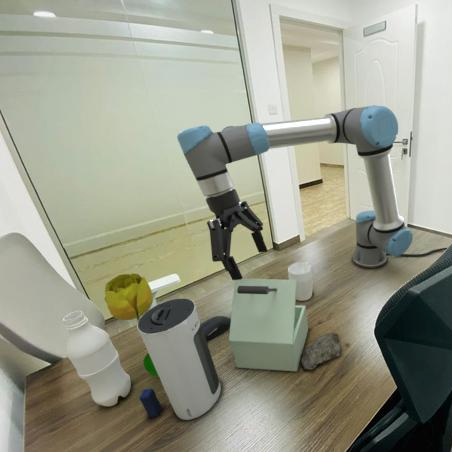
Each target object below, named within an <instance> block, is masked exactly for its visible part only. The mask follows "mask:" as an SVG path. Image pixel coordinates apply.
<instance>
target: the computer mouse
mask: <svg viewBox="0 0 452 452" xmlns="http://www.w3.org/2000/svg"><path fill="white" fill-rule="evenodd" d="M201 325H202V328H203V332H204V335H205V338H206V341H207V342H208V340H210V339H212V338H213V337H216V336H218V335H220V334H222V333H224V332H226V331H227V330H229V329H230V325H231V317H228V316H224V315H216V316H215V315H214V316H213V317H210V318H208V319H207V320H205V321H203V322H201Z"/></svg>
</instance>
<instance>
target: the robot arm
mask: <svg viewBox="0 0 452 452" xmlns="http://www.w3.org/2000/svg"><path fill="white" fill-rule="evenodd" d="M395 114H396V113H394V112H393V110H391V109H390V108H388V107H387V106H384V105H375V104H374V105H368V106H362V107H353V108H349V109H344V110H342V111H338V112H333V113H326V114H324V116H323V117H314V118H306V119H294V120H283V121H275V122H265V123H264V122H263V123H261V122H252V123H247V124H243V125H227V126H225V127H224V128H223V129H221V131H217V132H216V131H214V132H213V130H212V129H211V127H210V126H209V125H206V124H205V125H200V126H194V127H190V128H186V129H184V130H180V131H179V132H178V133H177V136H176V137H177V141H178V144H179V146H180V148H181V151H182V153H183V155H184V158H185V160H186V162H187V164H188V166H189V168H190V170H191V172H192V174H193V176H194V178H195V180H196V183H197V185H198V186H199V189H200V191H201V193H202V195H203V197H206V198H205V203H206V204H207V207H208V209H209V211H210V212H211V213H213V214H214V216H215V218H214V219H211V220H207V221H206V225H207V228H208V230H209V238H210V249H211V260H212V262H214V263H216V262H221V263H222V265H223V267H224V270H225V271H226V272H228V274H229V276H230V278H231V280H232V281H235V280H241V279H244V278H243V275H242V273H241V271H240V268H239V267H238V265H237V264H238V263H237V262H236V260H235V258H234V256H233V255H231V245H232V234H233V232H234V229H235V228H237V226H238V225H241V226H243V227H245V228H246V229H248V230H250V231H251V233H250V235H251V237H252V239H253V242H254V244H255V247H256V249H257V252H258V253H267V252H268V248H267V245H266V242H265V241H264V236H263V234H262V232H261V231H263V230H264V227H263V226H264V222H263V221H262V220H261V219H260V218H259V217H258V215H257V214H256V213H255V212H254V211H253V210H252V209H251V208H250V205H249V204H248V202H247V201H246V200H244V201H241V199H240V196H239V194H238V192H237V189H235V188H234V187H235V183H234V182H233V180H232V177H231V175H230V171H228V168H227V164H232V163H235V162H238V161H241V160H244V159H245V160H246V159H248V158H252V157H255V156H258V157H259V155H261V154H264V153H267V152H268V151H269V150H273V149H281V148H287V147H294V146H295V147H296V146H303V145H308V144H316V143H323V142H326V143H328V144H330V145H331V144H346V145H347V144H348V145H354V146H355V148H356V153H357V156H358V157H359V158H361V159H363V162H364V168H365V172H366V178H367V182H368V187H369V192H370V198H371V202H372V207H373V210H364V211H361V212H359V213H357V215H356V217H355V236H356V245H355V248H354V251H353V254H352V262H353V263H354V264H355V266H357V267H360V268H363V269H377V268H381V267H383V266H384V265H386V263H387V260H388V259H387V257H424V256H428V255H431V254H432V253H437V252H440V251H447V250H446V249H447V248H448V247H441V248H437V249H432V250H430V251H427V252H425V253H416V254H415V253H406V252H407V251H408V249H409V248H410V247H411V245H412V242H413V239H414V236H413V232H412V230H410V229H409V228H407V227H406V225H405V218H404V216H402V215H401V214H399V213H400V212H399V207H398V200H397V194H396V187H395V180H394V174H393V169H392V162H391V156H390V153H391V152H392V150H393V149H394V143H395V141H396V139H397V136H398V134H399V122H398V119H397V116H396V115H395Z"/></svg>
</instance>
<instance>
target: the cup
mask: <svg viewBox="0 0 452 452" xmlns="http://www.w3.org/2000/svg"><path fill="white" fill-rule="evenodd" d="M287 275H288V280H297V285H296V301H299V302H305V301H308V300H310V299H311V298H312V296H313V289H314V288H313V287H314V269H313V265H312V264H311V263H310V262H307V261H297V262H294V263H292V264H290V265H289V266H288V268H287Z"/></svg>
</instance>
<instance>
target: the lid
mask: <svg viewBox="0 0 452 452" xmlns="http://www.w3.org/2000/svg"><path fill="white" fill-rule="evenodd" d="M296 285H297V280H289V279H278V278H277V279H275V278H274V279H273V278H271V279H270V278H242V279H241V280H234V285H233V286H234V287H233V297H232V307H231V317H230V319H231V325H230V327H229V334H228V335H229V336H228V341H229V342H230V341H247V342H266V343H285V344H293V342H294V323H295V305H297V304H296V303H297V300H296Z"/></svg>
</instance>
